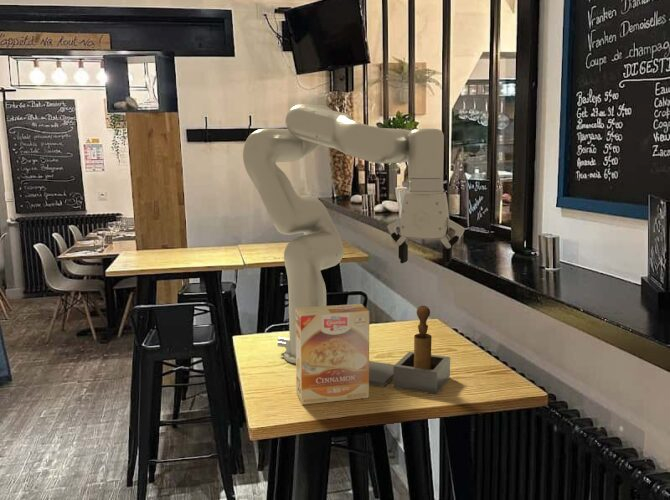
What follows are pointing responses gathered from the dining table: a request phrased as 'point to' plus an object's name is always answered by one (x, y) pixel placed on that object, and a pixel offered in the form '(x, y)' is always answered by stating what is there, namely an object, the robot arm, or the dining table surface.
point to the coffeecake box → (332, 353)
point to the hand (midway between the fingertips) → (424, 263)
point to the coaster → (380, 373)
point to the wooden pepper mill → (422, 341)
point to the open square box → (421, 374)
